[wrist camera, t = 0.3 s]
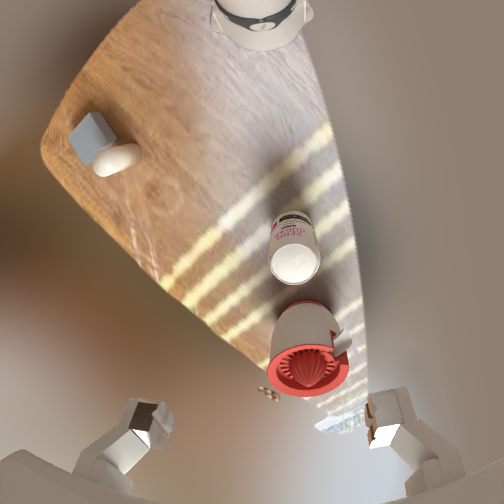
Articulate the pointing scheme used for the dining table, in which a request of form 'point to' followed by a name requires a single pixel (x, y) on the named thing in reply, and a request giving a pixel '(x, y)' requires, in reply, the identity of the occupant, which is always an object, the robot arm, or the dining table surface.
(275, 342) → the citrus juicer
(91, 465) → the robot arm
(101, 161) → the white pillar candle
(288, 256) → the supplement can
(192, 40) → the dining table surface
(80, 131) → the plinth
